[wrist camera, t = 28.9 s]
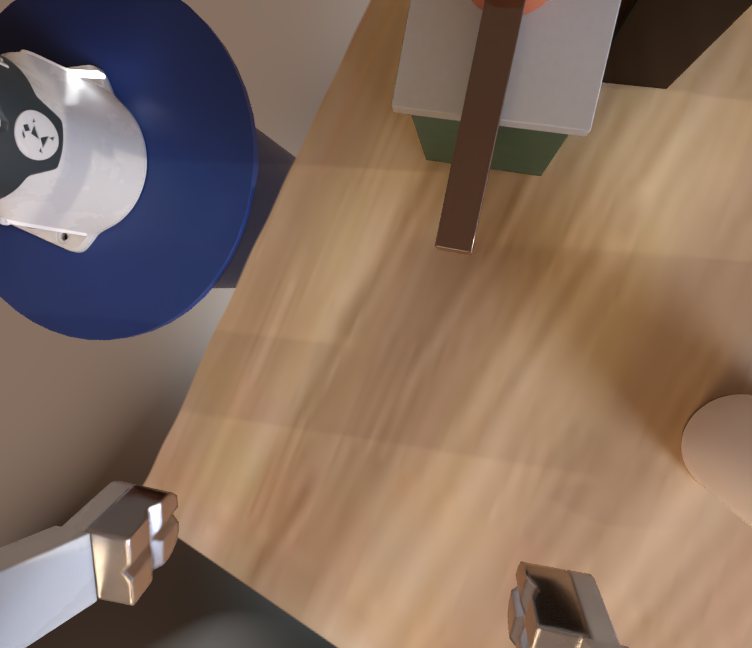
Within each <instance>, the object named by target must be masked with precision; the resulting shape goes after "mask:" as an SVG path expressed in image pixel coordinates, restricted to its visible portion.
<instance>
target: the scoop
mask: <svg viewBox="0 0 752 648" xmlns="http://www.w3.org/2000/svg"><path fill="white" fill-rule="evenodd" d="M547 1H549V0H472V2H473V3H474V4H475V5H476V6H477V7H478V8H480V9H481V10H483V11H482V16H481V21H480V26H479V31H478V36H477V41H476V46H475V51H474V56H473V61H472V66H471V70H470V75H469V80H468V85H467V90H466V95H465V100H464V105H463V110H462V115H461V120H460V125H459V129H458V134H457V139H456V144H455V149H454V154H453V159H452V164H451V169H450V174H449V179H448V183H447V188H446V193H445V198H444V203H443V208H442V213H441V218H440V223H439V228H438V233H437V238H436V242H435V247H436V248H437V249H438V250H442V251H448V252H453V253H459V254H464V255H471V254H472V251H473V246H474V241H475V237H476V232H477V227H478V223H479V218H480V213H481V209H482V204H483V199H484V195H485V190H486V185H487V180H488V176H489V171H490V166H491V162H492V157H493V152H494V148H495V143H496V138H497V134H498V129H499V124H500V120H501V115H502V110H503V106H504V101H505V96H506V92H507V87H508V82H509V78H510V73H511V68H512V63H513V59H514V54H515V49H516V45H517V40H518V35H519V31H520V26H521V21H522V17H523V15H525V14H528V13H530V12H532V11H534V10H536V9H538V8H539V7H541V6H542V5H544V4H545V3H546V2H547Z"/></svg>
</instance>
